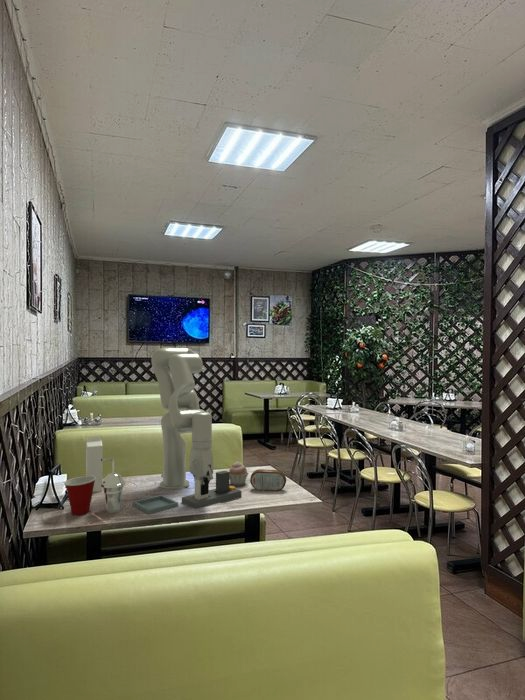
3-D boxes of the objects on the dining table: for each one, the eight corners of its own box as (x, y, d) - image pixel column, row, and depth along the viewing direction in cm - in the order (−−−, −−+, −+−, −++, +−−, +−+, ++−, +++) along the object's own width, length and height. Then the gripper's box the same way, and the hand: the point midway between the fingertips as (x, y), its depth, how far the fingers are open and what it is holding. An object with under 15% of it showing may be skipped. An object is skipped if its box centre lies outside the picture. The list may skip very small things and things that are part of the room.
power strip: (181, 503, 171) (181, 495, 171) (227, 491, 185) (227, 483, 185) (194, 510, 164) (195, 501, 164) (241, 497, 179) (241, 488, 179)
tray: (133, 506, 167) (133, 501, 167) (161, 499, 176) (161, 494, 176) (148, 515, 159) (148, 510, 159) (178, 507, 167) (178, 502, 167)
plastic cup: (73, 506, 167) (73, 474, 167) (101, 507, 166) (101, 475, 166) (57, 517, 156) (57, 482, 156) (86, 518, 155) (86, 483, 155)
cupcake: (252, 482, 198) (252, 460, 198) (241, 488, 190) (241, 464, 190) (234, 479, 203) (234, 457, 203) (222, 485, 194) (223, 462, 194)
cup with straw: (128, 513, 161) (128, 457, 161) (102, 517, 156) (102, 460, 156) (121, 505, 168) (122, 452, 168) (96, 510, 163) (96, 455, 163)
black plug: (215, 497, 178) (215, 472, 178) (224, 495, 181) (224, 470, 181) (220, 499, 175) (220, 474, 175) (229, 497, 178) (229, 472, 178)
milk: (85, 489, 188) (85, 436, 188) (101, 487, 191) (100, 435, 191) (87, 493, 183) (87, 439, 183) (102, 491, 185) (102, 437, 186)
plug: (194, 501, 171) (194, 474, 171) (204, 498, 174) (204, 472, 174) (198, 503, 168) (199, 476, 169) (208, 500, 171) (209, 474, 172)
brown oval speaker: (286, 489, 189) (286, 469, 189) (285, 492, 186) (286, 471, 186) (250, 488, 190) (250, 468, 190) (249, 490, 187) (249, 470, 187)
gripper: (181, 443, 175) (181, 490, 175) (206, 449, 163) (206, 500, 163) (197, 440, 180) (197, 486, 180) (222, 446, 168) (222, 496, 168)
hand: (201, 492), depth 171 cm, fingers closed on plug, 3 cm apart
